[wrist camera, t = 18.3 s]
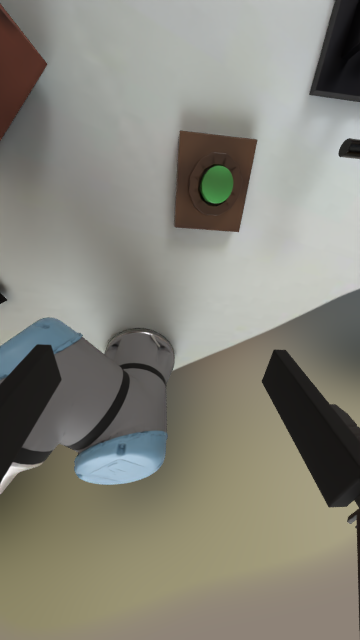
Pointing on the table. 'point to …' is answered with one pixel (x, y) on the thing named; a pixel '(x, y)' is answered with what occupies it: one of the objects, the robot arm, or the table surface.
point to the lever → (350, 149)
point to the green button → (216, 184)
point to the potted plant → (15, 69)
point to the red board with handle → (2, 298)
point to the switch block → (194, 162)
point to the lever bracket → (340, 55)
